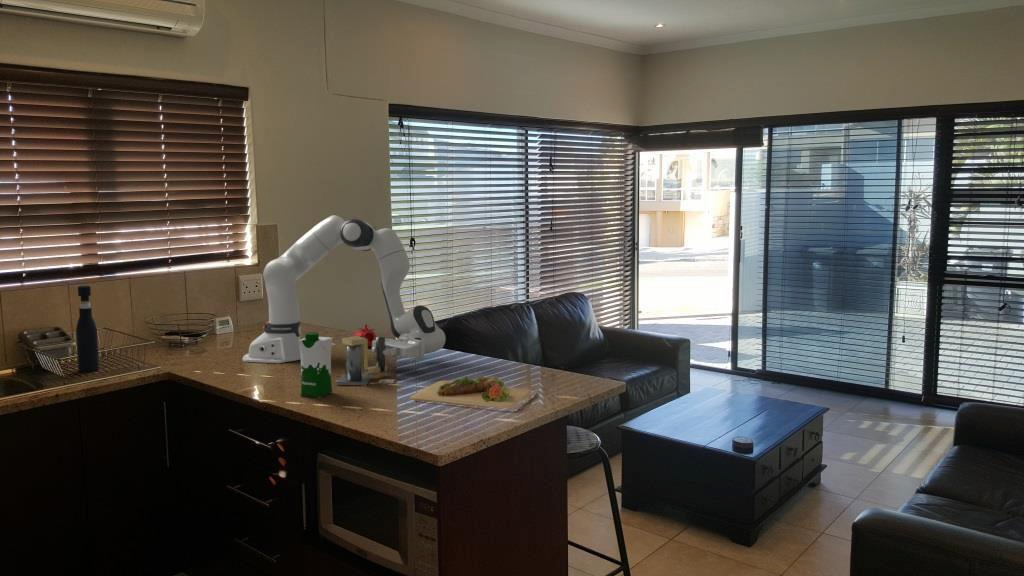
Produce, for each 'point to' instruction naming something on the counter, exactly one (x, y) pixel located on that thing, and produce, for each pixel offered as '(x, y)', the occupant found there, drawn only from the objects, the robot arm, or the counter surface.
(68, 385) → the counter surface
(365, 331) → the pomegranate
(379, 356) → the lever
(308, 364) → the milk carton
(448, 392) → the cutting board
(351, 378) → the post
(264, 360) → the robot arm
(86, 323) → the dark blue bottle
